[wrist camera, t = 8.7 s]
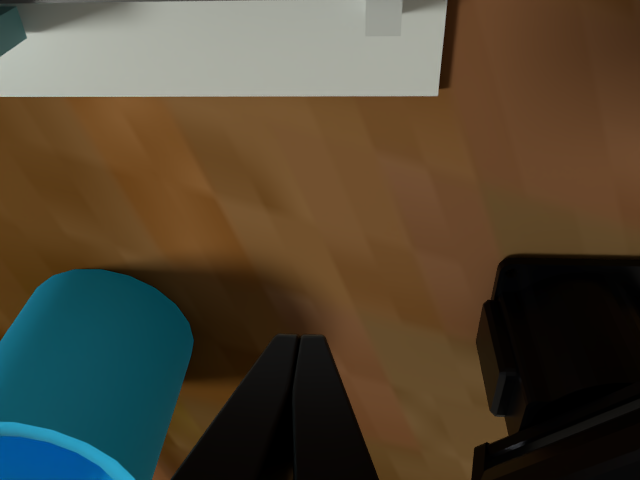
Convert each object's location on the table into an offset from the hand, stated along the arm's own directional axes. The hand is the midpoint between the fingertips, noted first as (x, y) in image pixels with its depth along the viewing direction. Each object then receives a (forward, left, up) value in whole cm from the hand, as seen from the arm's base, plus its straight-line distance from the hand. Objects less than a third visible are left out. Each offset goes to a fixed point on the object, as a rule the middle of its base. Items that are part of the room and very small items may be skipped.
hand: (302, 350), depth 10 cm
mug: (+13, +14, -13) cm, 23 cm away
